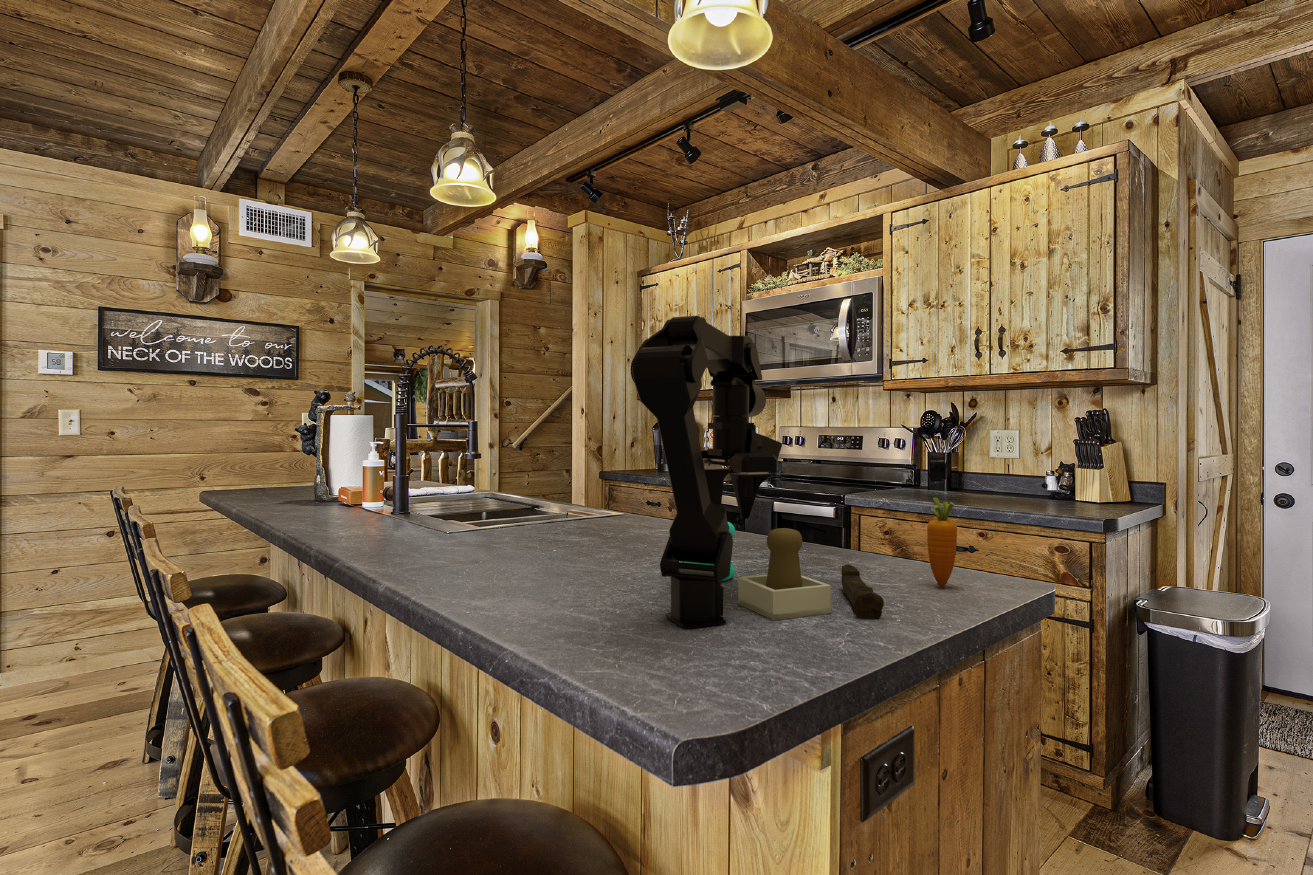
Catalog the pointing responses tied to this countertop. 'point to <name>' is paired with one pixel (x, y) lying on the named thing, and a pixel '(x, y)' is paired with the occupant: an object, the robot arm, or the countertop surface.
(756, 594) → the tray
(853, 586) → the dark brown lumpy bar
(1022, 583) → the countertop surface
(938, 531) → the carrot
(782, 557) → the cork
